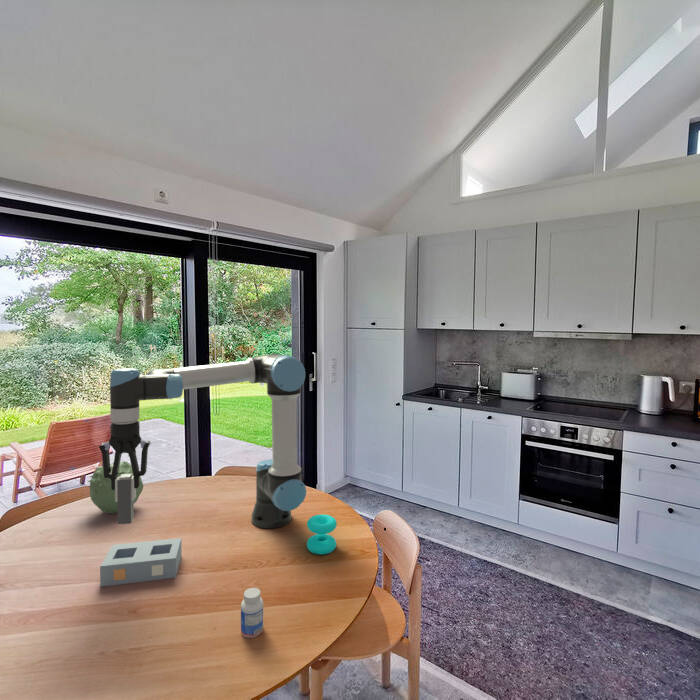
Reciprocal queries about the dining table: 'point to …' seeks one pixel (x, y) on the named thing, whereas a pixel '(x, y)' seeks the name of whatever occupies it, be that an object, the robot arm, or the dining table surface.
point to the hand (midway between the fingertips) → (125, 499)
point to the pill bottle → (252, 613)
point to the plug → (125, 499)
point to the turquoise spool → (321, 534)
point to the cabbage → (109, 488)
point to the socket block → (141, 562)
